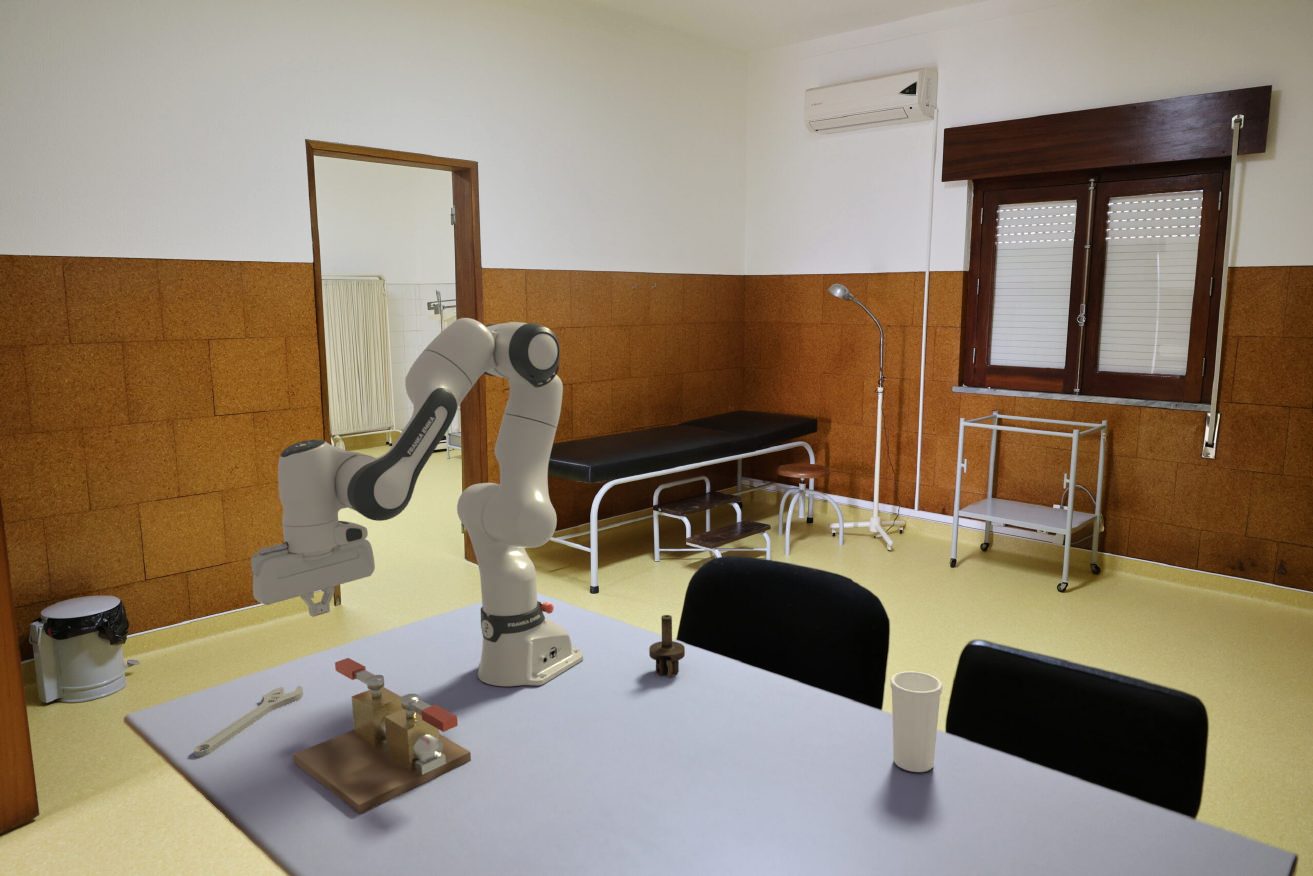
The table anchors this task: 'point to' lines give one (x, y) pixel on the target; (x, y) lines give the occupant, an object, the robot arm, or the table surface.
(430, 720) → the pipe manifold
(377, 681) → the valve lever
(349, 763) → the base board
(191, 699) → the table surface
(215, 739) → the adjustable wrench
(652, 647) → the industrial component
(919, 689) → the cup
